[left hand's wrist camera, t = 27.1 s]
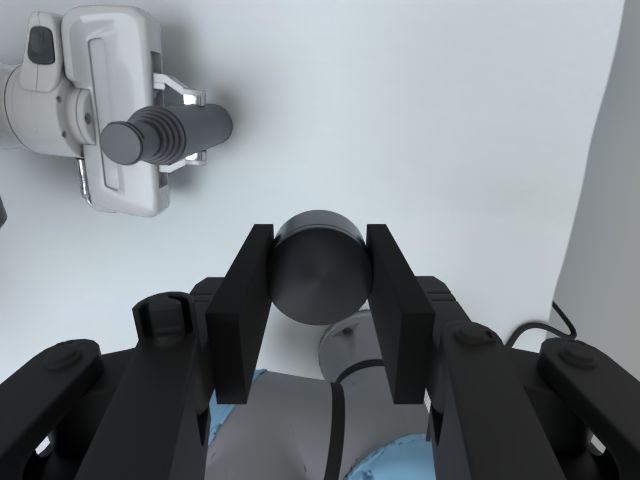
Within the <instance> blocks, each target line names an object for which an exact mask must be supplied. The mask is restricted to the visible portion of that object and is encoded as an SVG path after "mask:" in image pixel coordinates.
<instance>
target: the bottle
mask: <svg viewBox="0 0 640 480" xmlns="http://www.w3.org/2000/svg"><path fill="white" fill-rule="evenodd" d="M231 132H232V120H231V117H230V115H229V114H228V112H227V111H226V110H225V109H223V108H222V107H220V106H218V105H215V104H206V106H196V105H162V106H146V107H143V108H141V109H139V110H137V111H136V112H134V113H133V114H132V115H131V117H130V118H129V119H128V120H127V122H126V121H115V122H110V123H108V124H107V126H106V127H105V128H104V129H103V130H102V132H101V135H100V145H101V148H102V150H103V152H104V154H105V155H106V156H107V157H108V158H109V159H110V160H112V161H113V162H115V163H118V164H121V165H126V166H128V165H134V164H136V163H138V162H139V161H144V162H147V163H149V164H153V165H169V164H172V163H174V162H177V161H179V160H182V159H184V158H186V157H189V156H191V155H194V154H196V153H198V152H201V151H203V150H206V149H208V148H210V147H213V146H215V145H217V144H220V143H222V142H224V141H226V140H227V139H228V138H229V136H230V135H231Z"/></svg>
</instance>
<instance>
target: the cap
mask: <svg viewBox="0 0 640 480" xmlns="http://www.w3.org/2000/svg"><path fill="white" fill-rule="evenodd" d="M266 276H267V292H268V295H269V297H270V299H271V300H272V302H273V303H274V305H275V306H276V307H277V308H278V309H279V310H280V311H281V312H282V313H284V314H285V315H286V316H288V317H290V318H291V319H293V320H296V321H298V322H301V323H305V324H310V325H328V324H333V323H337V322H340V321H342V320H344V319H346V318H348V317H350V316H351V315H353V314H354V313H355V312H357V311H358V310H359V309H360V308H361V307H362V305H363V304H364V303H365V301H366V300H367V298H368V296H369V294H370V292H371V289H372V285H373V267H372V263H371V260H370V257H369V254H368V251H367V248H366V245H365V242H364V239H363V237H362V235H361V233H360V231H359V230H358V228H357V227H356V226H355V225H354V224H353V223H352V222H351V221H350V220H348V219H347V218H345V217H344V216H342V215H340V214H338V213H335V212H332V211H326V210H311V211H306V212H303V213H300V214H298V215H296V216H294V217H292V218H291V219H289V220H288V221H287V222H286V223H285V224H284V225H283V226H282V227H281V228H280V230H279V231H278V233H277V234H276V237H275V239H274V242H273V244H272V247H271V250H270V253H269V256H268V259H267V262H266Z"/></svg>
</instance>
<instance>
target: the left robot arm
mask: <svg viewBox="0 0 640 480" xmlns="http://www.w3.org/2000/svg"><path fill="white" fill-rule="evenodd" d="M273 242H274V230H273V224H254V226H253V228H252V230H251V231H250V233H249V235H248V237H247V238H246V240H245V242H244V244H243V246H242V247H241V249H240V251H239V253H238V254H237V256H236V258H235V260H234V262H233V263H232V265H231V267H230V269H229V271H228V272H227V274H226V276H225V277H207V278H205V279H204V280H202V281H201V282H199V283H198V284H196V285H195V286H194V288H193V289H192V291H191V292H190V294H188V293H184V292H165V293H159V294H156V295H153V296H150V297H147V298H145V299H143V300H142V301H140V302H138V303H137V304H136V305H135V306H134V307H133V308H132V311H133V316H134V320H135V325H136V329H137V334H138V339H139V341H138V343H137V345H136V347H135V348H132V349H128V350H123V351H118V352H113V353H108V354H103V355H101V351H100V347H99V345H98V344H97V343H96V342H95V341H93V340H88V339H77V340H69V341H66V342H61V343H58V344H56V345H54V346H52V347H50V348H47V349H45V350H44V351H42V352H41V353H39V354H38V355H36V356H35V357H33V358H32V359H31V360H29V361H28V362H27V363H26V364H25V365H23V366H22V367H21V368H20V369H19V370H17V371H16V372H15V373H14V374H12V375H11V376H10V377H9V378H8V379H6V380H5V381H4V382H3V383H1V384H0V480H640V382H639V381H638V380H637V379H636V378H634V377H633V376H632V375H631V374H629V373H628V372H627V371H626V370H625V369H623V368H622V367H621V366H620V365H618V364H617V363H616V362H615V361H613V360H612V359H611V358H610V357H609V356H607V355H606V354H604V353H603V352H601V351H600V350H598V349H597V348H595V347H593V346H590V345H588V344H586V343H584V342H582V341H579V340H574V339H575V338H576V336H577V333H576V329H575V328H574V326H573V324H572V323H571V322H570V320H569V319H568V318H567V316H566V315H565V314H564V313H563V311H562V310H561V309H560V308H559V307H558V305H557V304H556V303H555V302H554V301H553V300H552V307H553V308H554V309H555V311H556V312H557V313H558V314H559V316H560V317H561V318H562V320H563V321H564V322H565V324H566V325H567V326H568V328H569V330H570V332H571V334H570V335H567V334H564V333H562V332H561V331H559V330H557V329H555V328H553V327H551V326H548V325H545V324H542V323H528V324H525V325H523V326H521V327H519V328H518V329H517V330H516V331H515V332H514V333H513V335H512V336H511V338H510V340H509V341H508V343H507V344H506V346H504V345H503V342H502V340H501V339H500V337H499V336H498V335H497V334H496V333H495V332H494V331H492V330H491V329H489V328H488V327H486V326H483V325H481V324H478V323H475V322H472V321H471V320H470V319H469V317H468V316H467V314H466V313H465V312H464V310H463V309H462V307H461V306H460V304H459V303H458V302H457V301H456V299H455V297H454V296H453V295H452V294H451V292H450V290H449V289H448V287H447V286H446V285H445V283H443V282H442V281H440V280H438V279H437V278H435V277H434V276H415V275H414V274H413V272H412V270H411V268H410V267H409V265H408V263H407V261H406V259H405V258H404V256H403V254H402V252H401V250H400V249H399V247H398V245H397V243H396V242H395V240H394V238H393V236H392V234H391V233H390V231H389V229H388V227H387V226H386V224H367V235H366V248H367V251H368V254H369V257H370V260H371V263H372V267H373V285H372V289H371V292H370V294H369V296H368V302H369V306H370V310H364V311H358V312H355V313H354V314H353V315H351V316H350V317H348V318H346V319H344V320H342V321H340V322H337V323H333V324H332V325H331V326H330V327H329V328H328V329H327V330H326V332H325V333H324V335H323V337H322V339H321V342H320V346H319V364H320V368H321V371H322V374H323V376H324V378H325V380H326V381H324V380H318V379H311V378H305V377H299V376H293V375H287V374H282V373H276V372H271V371H267V370H266V369H261V370H255V368H256V364H257V360H258V356H259V352H260V348H261V344H262V340H263V336H264V331H265V327H266V323H267V319H268V315H269V311H270V307H271V303H272V300H271V299H270V297H269V295H268V292H267V276H266V262H267V259H268V256H269V253H270V250H271V247H272V244H273ZM531 328H541V329H544V330H547V331H550V332H552V333H554V334H556V335H557V336H559V337H561V338H558V337H555V338H550V339H546V340H545V341H544V342H543V343H542V345H541V349H540V352H539V353H535V352H530V351H525V350H520V349H515V348H512V346H513V344H514V343H515V341H516V340H517V338H518V337H519V336H520V334H522V333H523V332H524V331H526V330H528V329H531ZM425 388H426V389H427V392H428V395H429V397H430V400H431V406H430V413H428V410H427V408H426V405H425V402H424V395H425ZM593 434H594V435H595V436H596V437H597V438H598V439H599V440H600V441H601V443H602V444H603V445H604V446H605V447H606V449H605V451H604V453H601V452H600V451H599V450H598V449H597V448H596V447H595V446H594V445H593V444H592V443H591V439H592V436H593ZM47 436H48V438H49V441H50V444H49V445H48V446H47V447H46V448H45V450H43V451H42V452H41V453H40V454H39V455H38V454H37V453H36V450H35V449H36V448H37V447H38V446H39V444H40V443H41V442H42V441H43V440H44V439H45V438H46V437H47Z"/></svg>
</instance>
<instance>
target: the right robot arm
mask: <svg viewBox="0 0 640 480" xmlns="http://www.w3.org/2000/svg"><path fill="white" fill-rule="evenodd" d="M173 89H174V90H176V91H177V92H179V93H180V94H182V95H183V96H184V104H186V105H196V106H206V91H201V90H192V89H189V87H187V86H186V85H185V84H183V83H182V82H181V81H179V80H178V79H176V78H175V77H174V76H171V75H165V74H163V65H162V45H161V27H160V24H159V23H158V22H157V20H156V19H155V18H154V17H153V16H152V15H150V14H149V13H148V12H146V11H144V10H142V9H139V8H136V7H130V6H120V5H89V6H79V7H75V8H73V9H71V10H69V11H68V12H67V13H66V14H65V15H64V16H62V15H58V14H53V13H46V12H34V13H32V14H31V16H30V19H29V24H28V33H27V41H26V47H25V53H24V58H23V62H22V64H16V65H7V64H4V63H2V62H0V149H3V150H6V149H13V148H23V149H25V150H28V151H30V152H34V153H38V154H47V155H57V156H65V157H75V158H76V163H77V170H78V175H79V177H80V182H81V186H80V190H81V194H82V197H83V198H86V200H87V202H88V203H89V205H90V206H91V207H92V208H93V209H94V210H96V211H100V212H110V213H116V212H121V213H125V214H129V215H134V216H140V217H147V218H151V217H155V216H157V215H159V214H160V213H162V212H163V211H164V210H165V209H166V208H167V207H168V206H169V204H170V199H169V180H168V173H170V172H172V171H174V170H177V169H179V168H181V167H183V166H185V165H187V164H190V165H199V166H200V165H205V164H207V161H206V150H203V151H201V152H198V153H196V154H194V155H191V156H189V157H186V158H184V159H182V160H180V161H178V162H174V163H172V164H169V165H153V164H149V163H147V162H144V161H139V162H138V163H136V164H134V165H128V166H126V165H121V164H118V163H115V162H113V161H112V160H110V159H109V158H108V157H107V156H106V155H105V154H104V152H103V150H102V148H101V145H100V135H101V132H102V130H103V129H104V128H105V127H106V126H107V124H108V123H110V122H115V121H126V122H127V120H128V119H129V118H130V117H131V115H132V114H133V113H134V112H136V111H137V110H139V109H141V108H143V107H146V106H162V105H165V103H164V90H173ZM90 198H91V199H90ZM6 219H7V214H6V211H5V208H4V206H3V203H2V200H1V197H0V228H1V227H2V226H3V224H4V223H5V221H6Z"/></svg>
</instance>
